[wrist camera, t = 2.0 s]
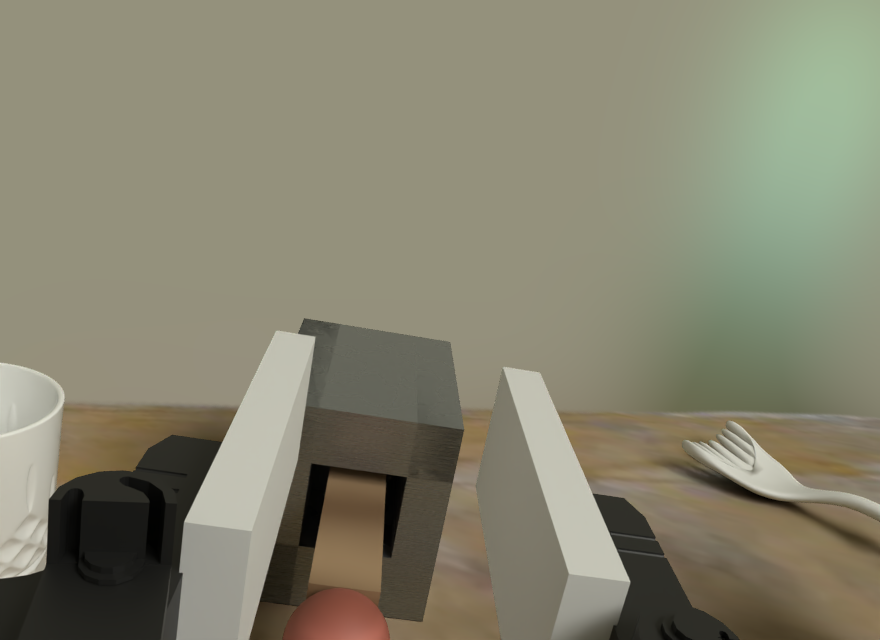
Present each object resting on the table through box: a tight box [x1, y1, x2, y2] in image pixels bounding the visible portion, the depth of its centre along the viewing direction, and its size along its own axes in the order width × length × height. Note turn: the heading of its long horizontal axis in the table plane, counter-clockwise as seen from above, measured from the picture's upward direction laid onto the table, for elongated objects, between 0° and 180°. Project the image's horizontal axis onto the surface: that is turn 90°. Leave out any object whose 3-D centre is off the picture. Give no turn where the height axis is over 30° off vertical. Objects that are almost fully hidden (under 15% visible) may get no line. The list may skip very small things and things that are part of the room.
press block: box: [260, 319, 464, 621], centre depth 43 cm, size 12×9×11 cm
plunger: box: [282, 466, 390, 640], centre depth 33 cm, size 14×4×4 cm, turn 2°
